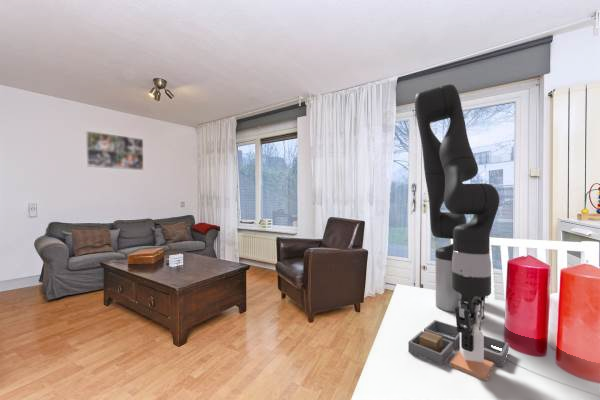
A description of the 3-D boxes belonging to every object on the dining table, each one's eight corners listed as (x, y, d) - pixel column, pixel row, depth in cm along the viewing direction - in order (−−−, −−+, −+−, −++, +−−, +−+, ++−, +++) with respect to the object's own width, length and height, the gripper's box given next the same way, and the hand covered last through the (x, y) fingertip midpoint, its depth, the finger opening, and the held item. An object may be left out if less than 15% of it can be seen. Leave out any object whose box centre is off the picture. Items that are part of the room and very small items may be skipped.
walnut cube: (425, 346, 69) (425, 330, 69) (442, 352, 66) (442, 336, 66) (419, 352, 66) (419, 336, 66) (436, 359, 64) (436, 342, 64)
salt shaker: (484, 364, 58) (484, 321, 58) (464, 361, 59) (463, 318, 59) (478, 353, 62) (478, 313, 62) (459, 351, 63) (458, 311, 63)
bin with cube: (421, 340, 72) (421, 330, 72) (453, 352, 66) (453, 342, 66) (408, 351, 67) (408, 341, 67) (441, 365, 61) (441, 355, 61)
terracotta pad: (459, 353, 66) (459, 350, 66) (493, 366, 60) (493, 362, 60) (449, 365, 61) (449, 362, 61) (485, 380, 56) (485, 377, 56)
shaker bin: (472, 340, 71) (472, 331, 71) (508, 353, 65) (508, 343, 65) (462, 352, 66) (462, 342, 66) (501, 367, 60) (501, 356, 60)
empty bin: (435, 328, 78) (434, 319, 78) (465, 338, 72) (465, 329, 72) (423, 338, 73) (423, 329, 73) (455, 349, 67) (455, 339, 67)
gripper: (462, 262, 68) (462, 328, 68) (441, 273, 58) (442, 350, 59) (498, 268, 63) (498, 339, 63) (481, 281, 53) (482, 366, 53)
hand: (471, 344), depth 61 cm, fingers closed on salt shaker, 5 cm apart
